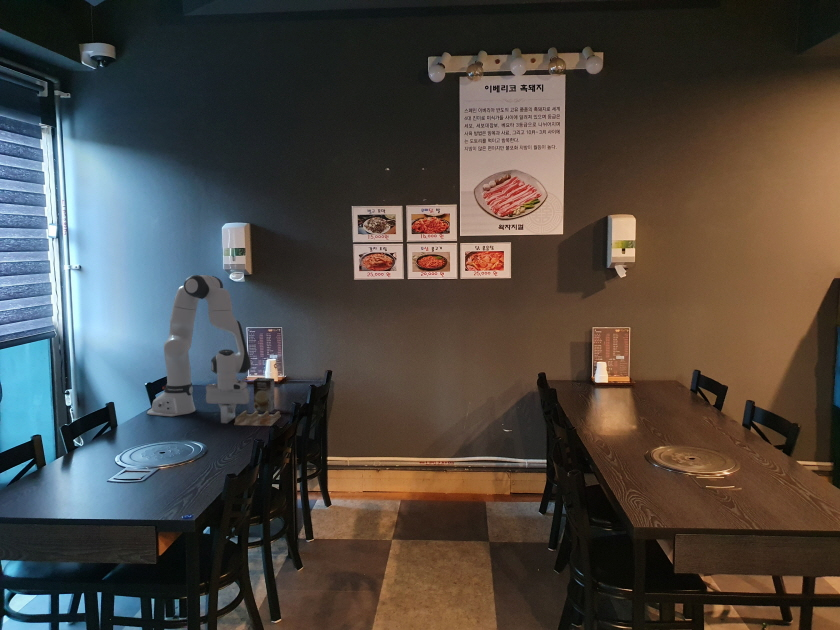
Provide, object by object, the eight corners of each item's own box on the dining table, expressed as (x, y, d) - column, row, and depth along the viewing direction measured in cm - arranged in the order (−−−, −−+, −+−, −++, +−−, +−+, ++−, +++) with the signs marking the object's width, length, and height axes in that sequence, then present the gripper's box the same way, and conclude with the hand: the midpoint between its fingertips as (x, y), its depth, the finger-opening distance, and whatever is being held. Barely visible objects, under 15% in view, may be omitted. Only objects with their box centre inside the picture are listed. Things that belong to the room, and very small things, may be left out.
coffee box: (253, 411, 298) (252, 380, 297) (258, 408, 305) (257, 377, 303) (271, 412, 298) (270, 380, 296) (275, 408, 304) (274, 378, 302)
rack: (234, 425, 276) (234, 418, 275) (245, 415, 291) (245, 409, 290) (270, 425, 275) (270, 419, 274) (280, 416, 290) (280, 410, 289)
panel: (221, 423, 279) (220, 406, 278) (229, 417, 289) (228, 401, 288) (227, 423, 278) (226, 406, 278) (235, 417, 288) (234, 401, 288)
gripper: (203, 385, 279) (204, 413, 281) (245, 386, 278) (246, 414, 279) (208, 382, 285) (209, 410, 287) (250, 383, 284) (251, 411, 286)
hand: (228, 412), depth 283 cm, fingers closed on panel, 3 cm apart
